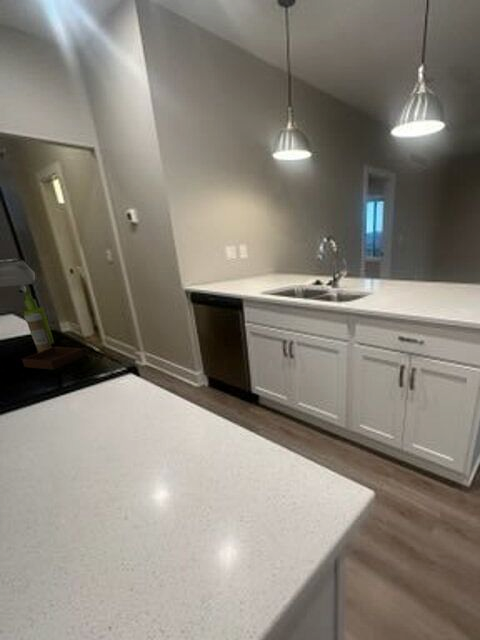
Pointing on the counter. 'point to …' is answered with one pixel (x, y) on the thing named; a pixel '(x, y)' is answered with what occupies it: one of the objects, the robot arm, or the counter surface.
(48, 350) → the food tray
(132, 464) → the counter surface
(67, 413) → the counter surface
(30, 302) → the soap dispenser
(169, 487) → the counter surface
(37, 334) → the sprinkles bottle
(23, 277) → the robot arm
